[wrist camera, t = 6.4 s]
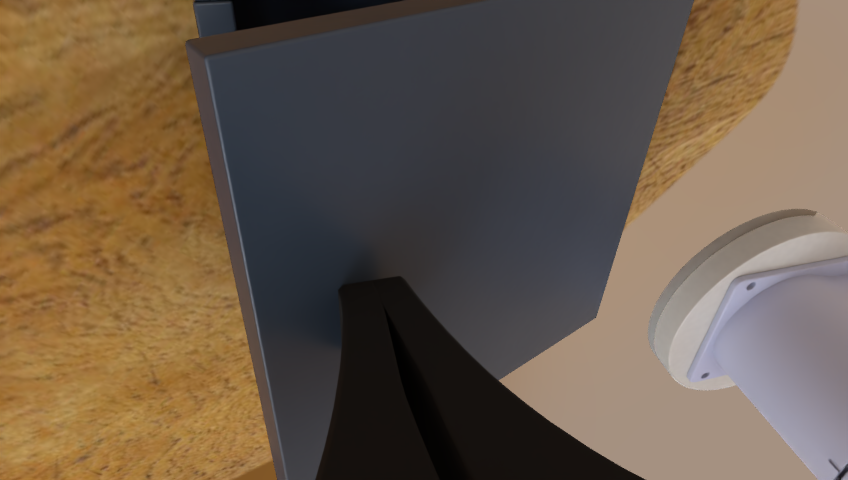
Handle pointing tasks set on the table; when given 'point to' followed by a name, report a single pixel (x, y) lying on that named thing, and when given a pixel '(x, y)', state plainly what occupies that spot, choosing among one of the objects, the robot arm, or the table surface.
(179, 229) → the table surface
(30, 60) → the table surface
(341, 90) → the lid
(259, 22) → the box
